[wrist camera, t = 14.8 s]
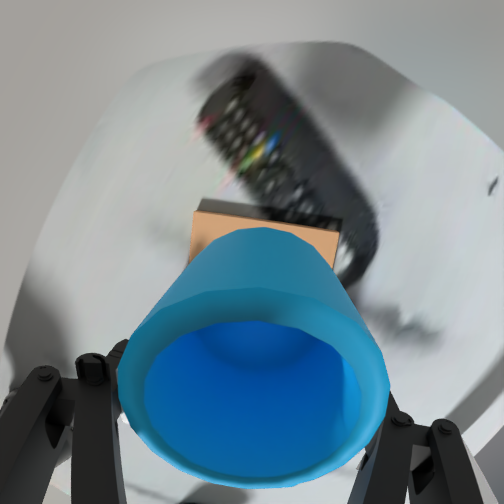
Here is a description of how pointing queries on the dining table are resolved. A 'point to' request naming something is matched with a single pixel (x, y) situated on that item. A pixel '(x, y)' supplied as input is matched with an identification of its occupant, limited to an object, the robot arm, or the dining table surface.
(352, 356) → the mug
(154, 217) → the dining table surface
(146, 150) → the dining table surface
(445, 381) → the dining table surface
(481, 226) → the dining table surface
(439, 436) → the robot arm
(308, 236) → the panel
